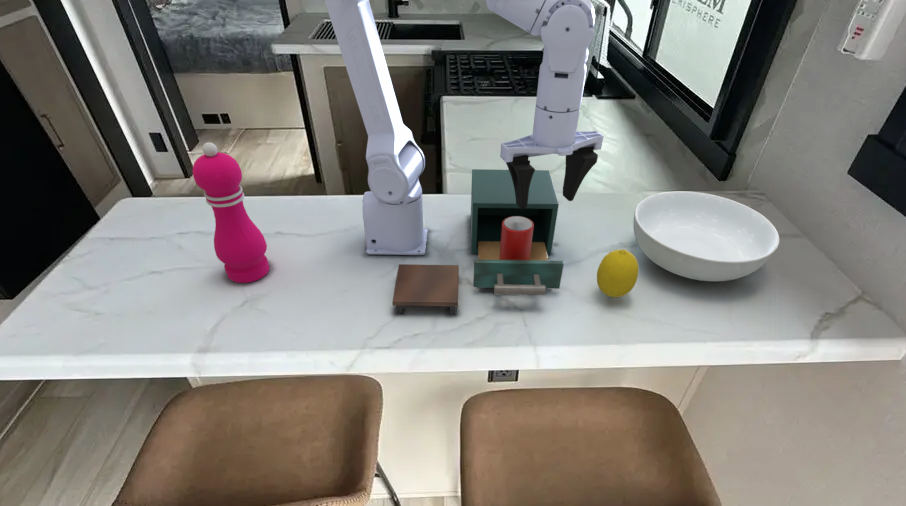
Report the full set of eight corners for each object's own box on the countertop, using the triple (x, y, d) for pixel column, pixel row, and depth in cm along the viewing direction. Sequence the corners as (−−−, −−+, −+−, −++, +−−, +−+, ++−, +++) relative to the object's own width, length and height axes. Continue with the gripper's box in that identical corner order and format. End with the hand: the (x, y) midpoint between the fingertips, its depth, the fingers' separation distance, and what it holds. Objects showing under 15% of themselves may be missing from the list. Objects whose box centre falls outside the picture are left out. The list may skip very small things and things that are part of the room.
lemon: (632, 289, 76) (645, 243, 71) (628, 311, 72) (643, 264, 67) (594, 282, 78) (605, 236, 72) (589, 303, 74) (600, 256, 68)
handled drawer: (473, 304, 72) (474, 278, 69) (472, 244, 83) (473, 220, 81) (563, 305, 72) (568, 280, 69) (549, 245, 83) (553, 221, 80)
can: (499, 271, 77) (503, 231, 72) (498, 254, 80) (501, 215, 76) (530, 271, 77) (535, 231, 72) (527, 254, 80) (532, 215, 76)
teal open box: (471, 253, 83) (472, 203, 77) (470, 217, 92) (472, 169, 86) (550, 254, 83) (558, 204, 77) (542, 218, 92) (549, 170, 86)
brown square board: (393, 315, 72) (392, 301, 70) (399, 277, 78) (398, 264, 77) (457, 316, 71) (458, 302, 70) (458, 278, 78) (458, 264, 76)
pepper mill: (282, 265, 80) (249, 138, 67) (250, 290, 75) (208, 158, 62) (246, 254, 83) (207, 128, 69) (213, 278, 78) (164, 147, 64)
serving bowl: (664, 308, 73) (679, 267, 69) (604, 233, 88) (612, 196, 84) (791, 290, 76) (813, 251, 72) (712, 221, 92) (726, 185, 87)
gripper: (519, 121, 61) (510, 222, 70) (623, 109, 65) (602, 206, 74) (497, 103, 66) (491, 199, 75) (594, 92, 70) (577, 185, 79)
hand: (544, 201), depth 75 cm, fingers open, 7 cm apart
